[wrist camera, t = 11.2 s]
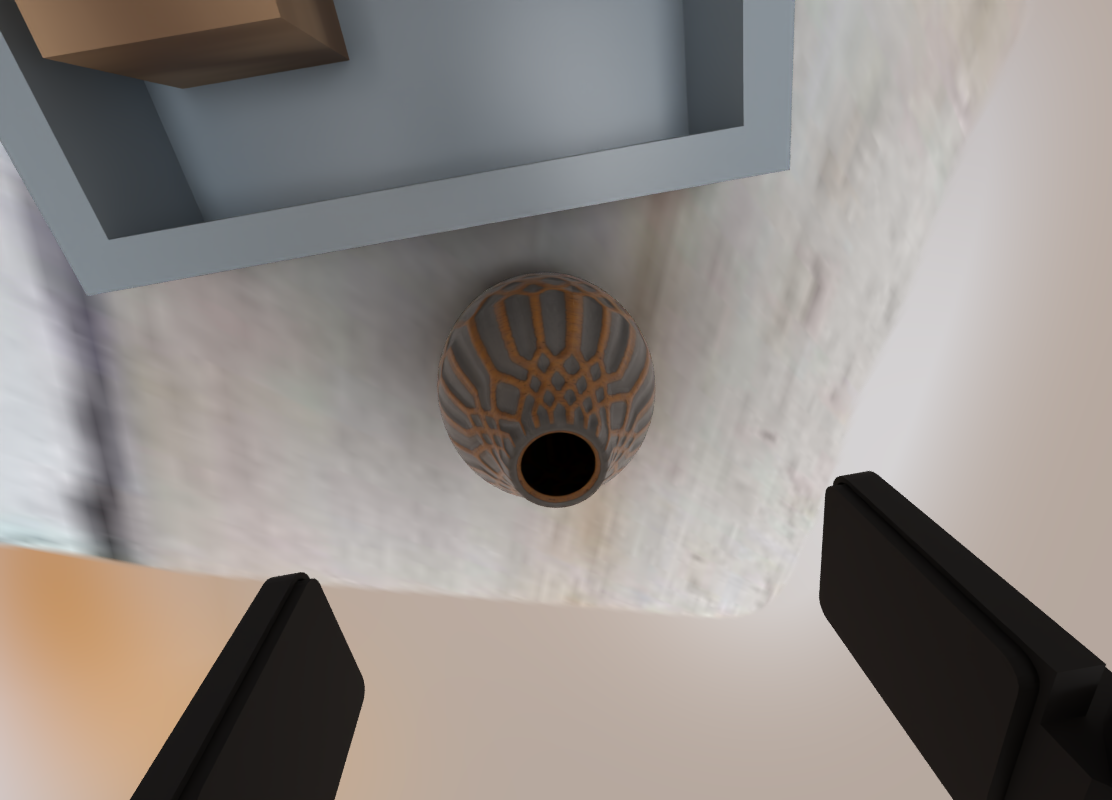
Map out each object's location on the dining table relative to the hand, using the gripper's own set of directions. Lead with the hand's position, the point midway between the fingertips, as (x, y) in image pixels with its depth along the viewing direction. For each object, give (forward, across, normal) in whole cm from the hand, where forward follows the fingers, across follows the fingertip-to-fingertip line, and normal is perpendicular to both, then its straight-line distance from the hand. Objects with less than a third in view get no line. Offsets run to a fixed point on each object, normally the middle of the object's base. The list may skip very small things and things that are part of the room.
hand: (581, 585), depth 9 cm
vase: (+12, 0, -1) cm, 12 cm away
